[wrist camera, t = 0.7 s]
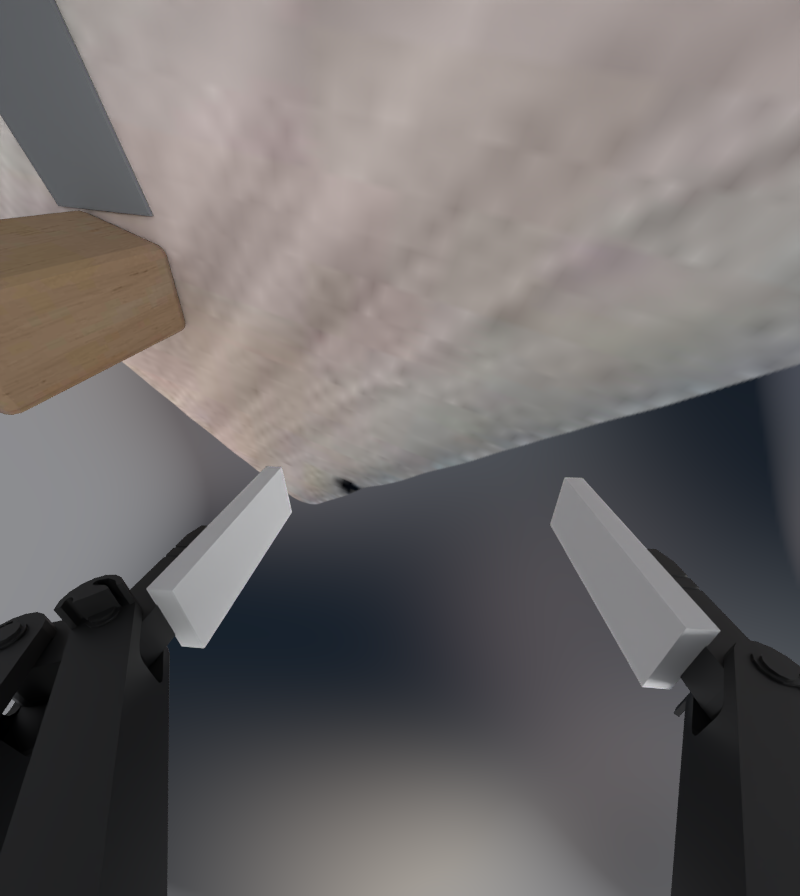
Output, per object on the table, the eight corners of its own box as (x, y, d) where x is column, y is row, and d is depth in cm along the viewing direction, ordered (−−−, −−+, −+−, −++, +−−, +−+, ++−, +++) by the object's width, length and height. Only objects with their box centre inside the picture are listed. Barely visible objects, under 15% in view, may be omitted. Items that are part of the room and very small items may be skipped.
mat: (-173, -171, 18) (-183, -175, 18) (-36, -197, 16) (-45, -203, 16) (62, 205, 31) (58, 205, 30) (153, 215, 29) (149, 216, 29)
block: (119, 298, 38) (-101, 375, 24) (79, 205, 30) (-270, 241, 17) (191, 329, 38) (14, 423, 25) (168, 245, 31) (-102, 313, 17)
